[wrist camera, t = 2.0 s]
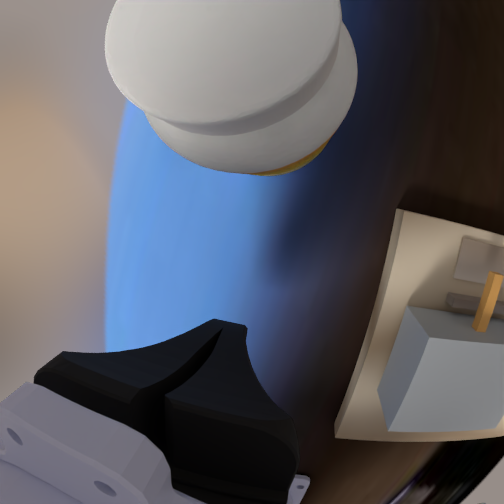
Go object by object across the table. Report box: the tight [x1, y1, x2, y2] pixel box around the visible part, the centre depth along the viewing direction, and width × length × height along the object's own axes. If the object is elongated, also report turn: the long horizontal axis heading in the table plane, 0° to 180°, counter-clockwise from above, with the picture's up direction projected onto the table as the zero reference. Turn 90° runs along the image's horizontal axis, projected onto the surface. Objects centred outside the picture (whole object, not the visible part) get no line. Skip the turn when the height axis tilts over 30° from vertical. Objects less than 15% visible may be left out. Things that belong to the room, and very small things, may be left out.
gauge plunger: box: [377, 271, 504, 432], centre depth 11 cm, size 7×6×3 cm
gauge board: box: [334, 208, 504, 442], centre depth 13 cm, size 12×16×2 cm
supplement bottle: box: [105, 0, 358, 176], centre depth 8 cm, size 5×5×10 cm
